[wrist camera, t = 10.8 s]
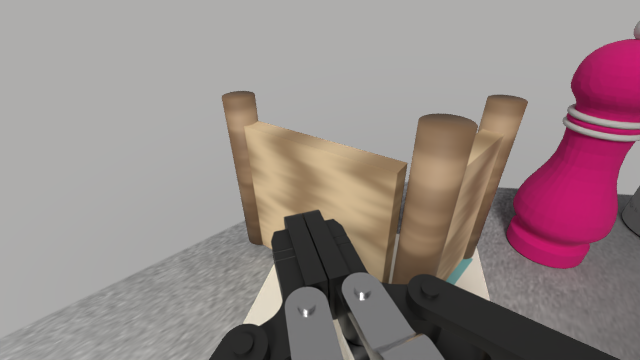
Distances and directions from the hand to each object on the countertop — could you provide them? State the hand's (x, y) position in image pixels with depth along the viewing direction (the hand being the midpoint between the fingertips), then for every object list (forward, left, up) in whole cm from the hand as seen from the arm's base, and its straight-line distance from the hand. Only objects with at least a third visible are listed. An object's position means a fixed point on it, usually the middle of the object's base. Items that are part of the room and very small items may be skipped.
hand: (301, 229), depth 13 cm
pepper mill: (-19, -17, -13) cm, 29 cm away
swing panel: (+3, -9, -12) cm, 15 cm away
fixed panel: (-8, -9, -12) cm, 17 cm away
